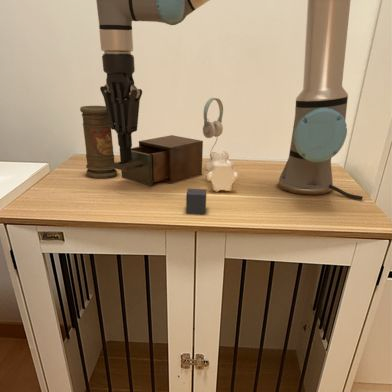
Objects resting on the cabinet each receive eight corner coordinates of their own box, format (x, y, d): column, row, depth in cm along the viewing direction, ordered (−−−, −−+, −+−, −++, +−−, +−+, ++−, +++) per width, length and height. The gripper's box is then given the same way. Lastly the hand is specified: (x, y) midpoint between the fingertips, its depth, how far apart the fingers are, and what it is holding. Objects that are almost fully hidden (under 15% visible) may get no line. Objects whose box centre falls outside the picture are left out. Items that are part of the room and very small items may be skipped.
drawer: (133, 190, 110) (131, 158, 105) (105, 181, 116) (102, 151, 111) (181, 176, 122) (181, 148, 118) (153, 169, 128) (152, 142, 123)
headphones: (214, 165, 138) (217, 96, 126) (223, 167, 136) (227, 97, 124) (198, 169, 133) (200, 98, 121) (207, 172, 131) (210, 99, 119)
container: (80, 175, 123) (71, 107, 113) (99, 169, 130) (92, 104, 119) (104, 180, 120) (97, 110, 109) (123, 173, 126) (117, 106, 116)
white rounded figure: (237, 193, 113) (240, 162, 108) (206, 193, 113) (207, 161, 108) (232, 179, 125) (234, 150, 120) (203, 178, 125) (204, 149, 120)
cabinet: (170, 183, 119) (170, 147, 114) (140, 175, 125) (138, 141, 120) (201, 174, 128) (203, 140, 123) (172, 167, 135) (171, 135, 129)
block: (205, 208, 102) (206, 189, 99) (205, 214, 99) (205, 194, 96) (187, 207, 102) (187, 188, 100) (186, 213, 99) (186, 194, 96)
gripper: (148, 53, 96) (153, 161, 110) (111, 52, 102) (120, 154, 117) (124, 53, 91) (133, 166, 105) (87, 52, 98) (99, 158, 112)
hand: (126, 160), depth 111 cm, fingers closed
